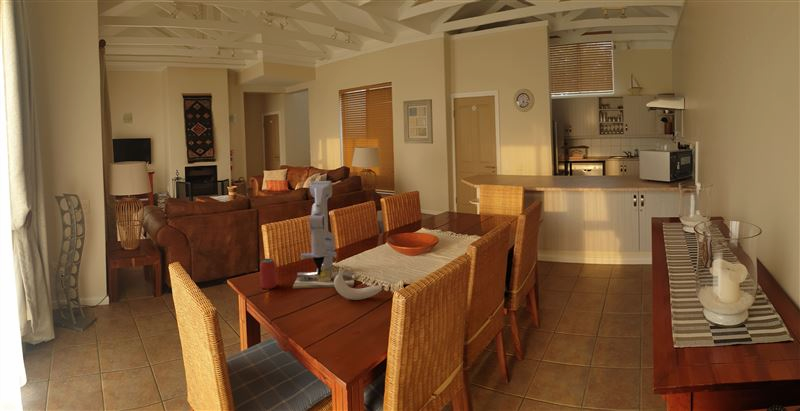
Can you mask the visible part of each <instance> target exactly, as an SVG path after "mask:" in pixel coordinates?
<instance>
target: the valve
mask: <svg viewBox="0 0 800 411" xmlns="http://www.w3.org/2000/svg"><path fill="white" fill-rule="evenodd" d="M321 269H322V267H321ZM296 274H297V275H296V276H297V277H296V279H304V281H309V280H310V279H317V280H318V282H321V281H331V280H333V278H335V277H336V276H337V275H338V274H339V271H334V270H333V271H332V267H326V275H325V276H321V275H318V271H317V272H316V271H307V272H305V271H304V272H301V271H300V272H296ZM352 274H353V271H351V270H347V271H345V270H344V272H343V274H342V277H343V280H347V279H348V278H352Z"/></svg>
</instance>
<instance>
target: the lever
mask: <svg viewBox="0 0 800 411" xmlns="http://www.w3.org/2000/svg"><path fill="white" fill-rule="evenodd" d="M326 267H327V264H326V263H324V264H322V269H321V272H320V275H321V276H325V275H326Z"/></svg>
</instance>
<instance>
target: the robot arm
mask: <svg viewBox="0 0 800 411" xmlns="http://www.w3.org/2000/svg"><path fill="white" fill-rule="evenodd" d="M309 193H310V195H311V197H312V198H314V203H313V204H312V206H311V212H310V213H311V214H310V216H309V219H308V223H309V224H308V225H309V232H310V238H311V241H310V242H311V252H304V253H301V255H300V256H301V260H304V259H313V262H314V264H315V266H316V267H317V269H316V271H315V272H317V271H318V275H320V272H321V267H322V264H324V263H326V264H327V267H332V271H333V272H334V268H335V266H336V265H335V264H333V259H335V258H337V252H336V251H335V250H336V239H335V235H334V234H333V233H332V232H331V231H329V219H328V218H329V217H328V214H329V213H328V200H329V198H331V197H332V195H333V183H332V180H314V181H312V180H311V181H310V182H309Z"/></svg>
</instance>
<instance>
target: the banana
mask: <svg viewBox="0 0 800 411" xmlns="http://www.w3.org/2000/svg"><path fill="white" fill-rule="evenodd" d="M338 269H339V270H338V272H339V274H338V275H337V276H336V277H335V279H334V286H335V287H334V289H335V290H336V291H337V293H338V294H339V295H340V296H342V297H343V298H345V299H348V300H354V301H359V300H364V299H365V300H366V299H367V298H368V299H369V298H370V297H374V296H375V295H377V294H378V293H380V292H381V291H382V289H383V287H382V286H380V285H371V286H370V285H369V286H367V287H363V288H354V287H349V286H347V285H346V283H345V282H344V280H343V277H342V274H343V272H344V271H345V270H344V269H343V268H342V267H339V268H338Z"/></svg>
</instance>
